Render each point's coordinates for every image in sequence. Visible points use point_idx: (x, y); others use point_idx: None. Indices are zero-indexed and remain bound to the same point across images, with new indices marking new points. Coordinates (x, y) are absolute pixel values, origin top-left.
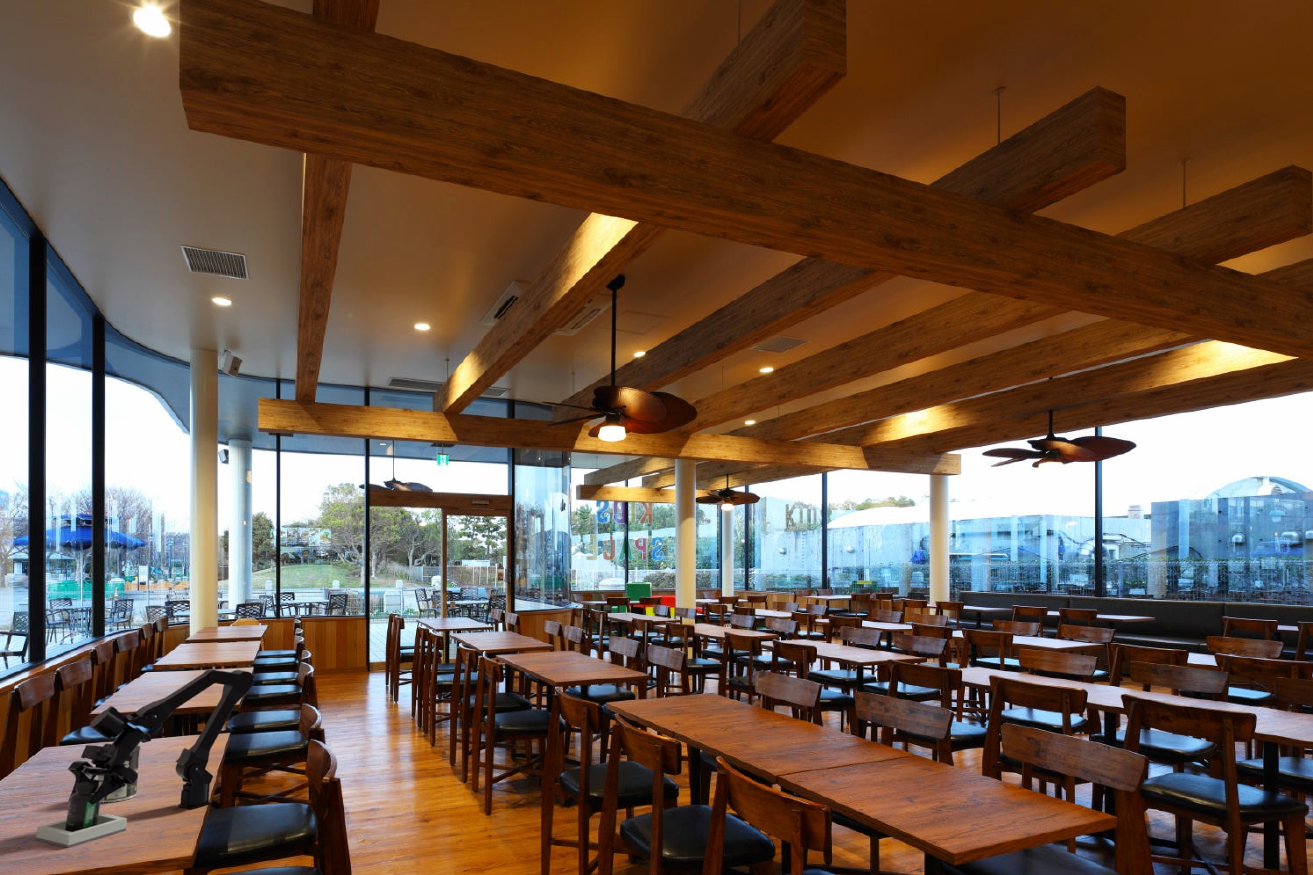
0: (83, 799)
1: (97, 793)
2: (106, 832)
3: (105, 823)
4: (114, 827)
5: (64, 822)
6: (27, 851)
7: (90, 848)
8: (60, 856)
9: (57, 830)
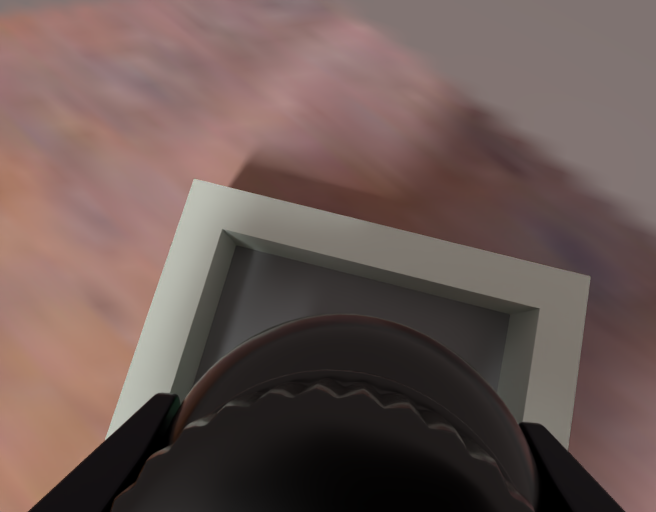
0: (229, 357)
1: (53, 488)
2: None
3: None
4: None
5: None
6: (396, 122)
7: (71, 219)
8: (142, 92)
9: (366, 241)
